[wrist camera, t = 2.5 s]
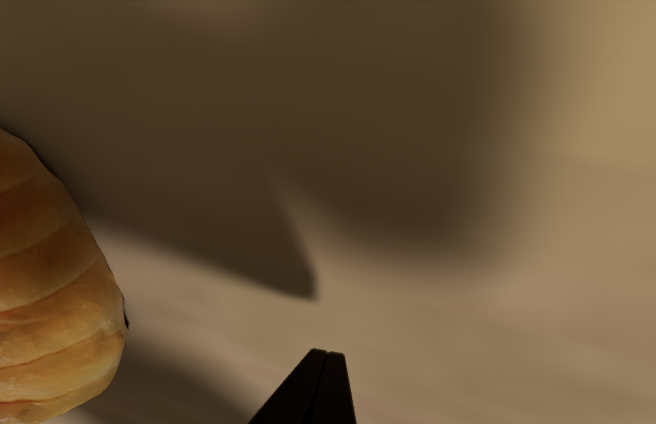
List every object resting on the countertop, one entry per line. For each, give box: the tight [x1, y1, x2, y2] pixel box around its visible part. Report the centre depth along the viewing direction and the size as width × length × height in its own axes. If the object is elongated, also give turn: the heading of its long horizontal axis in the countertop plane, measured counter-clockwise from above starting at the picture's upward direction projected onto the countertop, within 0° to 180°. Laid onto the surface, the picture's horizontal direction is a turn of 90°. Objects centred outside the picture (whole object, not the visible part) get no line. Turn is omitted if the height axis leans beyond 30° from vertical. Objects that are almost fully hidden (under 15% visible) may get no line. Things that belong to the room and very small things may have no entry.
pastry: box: [0, 128, 129, 424], centre depth 11 cm, size 9×7×4 cm
